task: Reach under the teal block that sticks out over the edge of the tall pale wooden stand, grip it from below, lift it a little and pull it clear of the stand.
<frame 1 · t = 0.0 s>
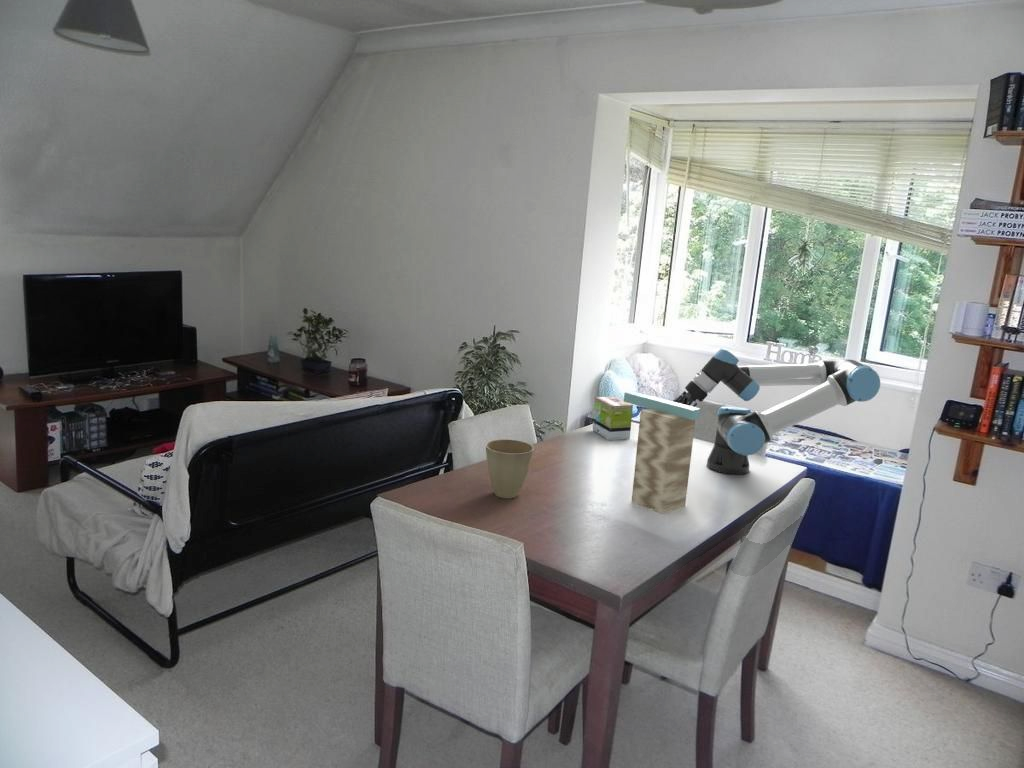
hand: (658, 432, 274), 15 cm above the table, tool tilted 35°, fingers open, 13 cm apart
plant pot: (506, 495, 247), on the table
wooden stand: (658, 503, 248), on the table
tea box: (610, 435, 325), on the table
teal block: (660, 409, 243), point 30 cm above the table, touching wooden stand
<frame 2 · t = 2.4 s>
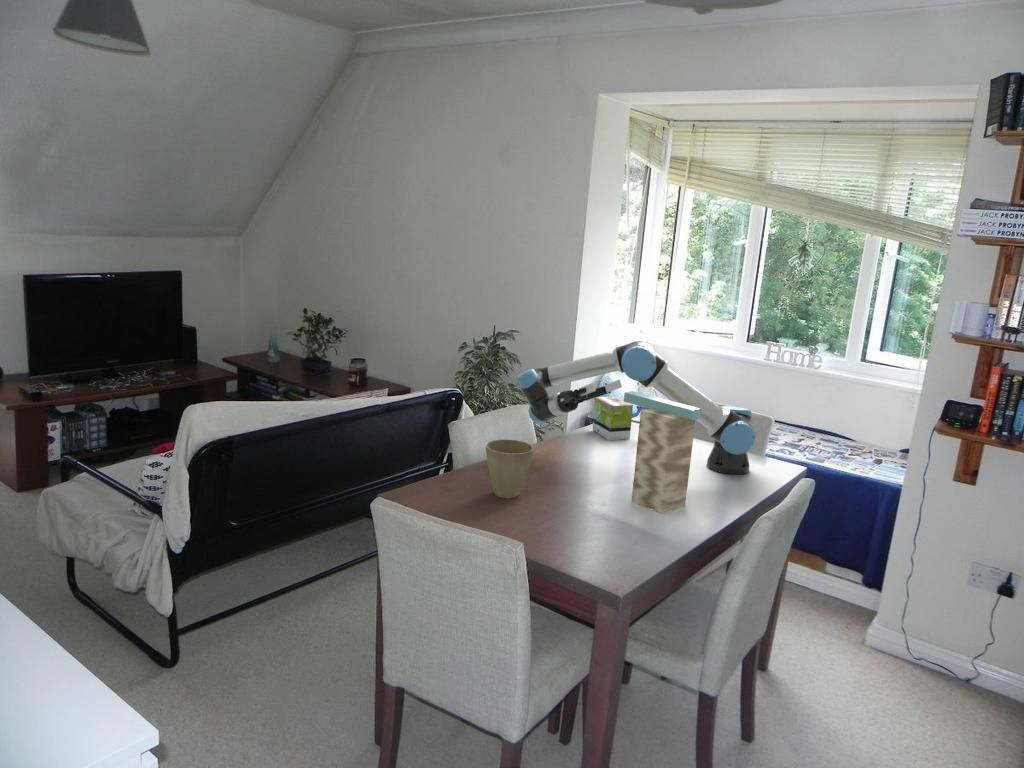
hand: (607, 385, 262), 33 cm above the table, tool pointing upward, fingers open, 13 cm apart
nothing on the table moved.
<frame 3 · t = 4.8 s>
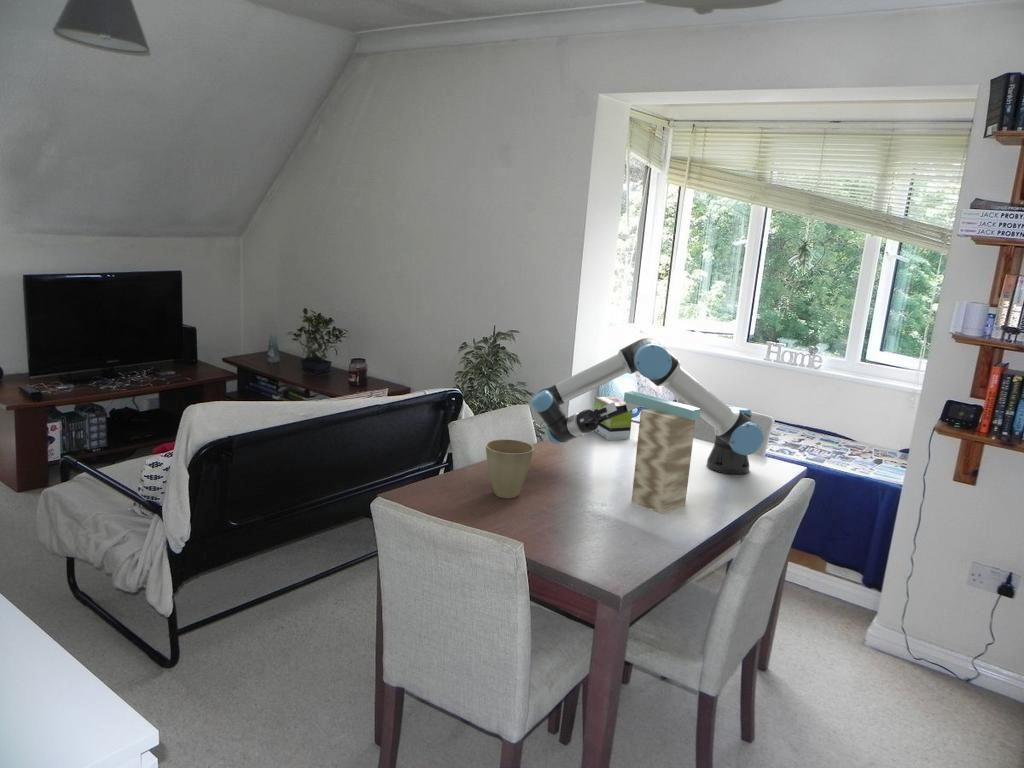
hand: (628, 403, 252), 29 cm above the table, tool pointing upward, fingers open, 13 cm apart
nothing on the table moved.
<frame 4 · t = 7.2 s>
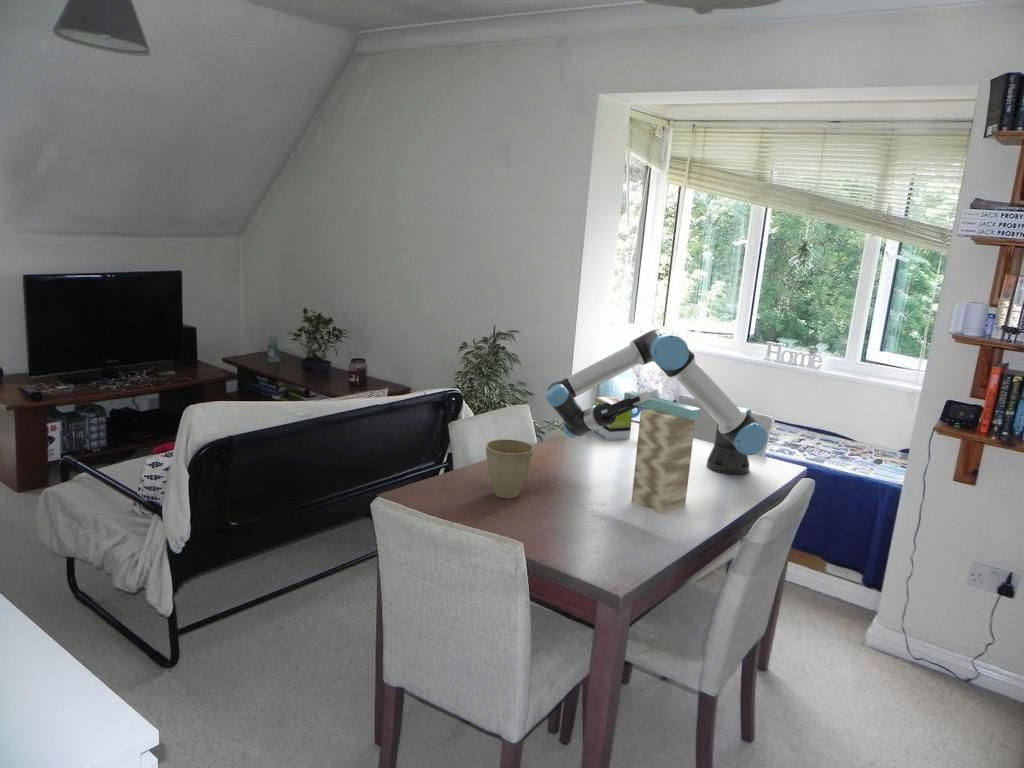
hand: (652, 394, 245), 34 cm above the table, tool pointing upward, fingers closed on teal block, 4 cm apart
teal block: (660, 409, 243), point 30 cm above the table, touching gripper, wooden stand
everything else where it was.
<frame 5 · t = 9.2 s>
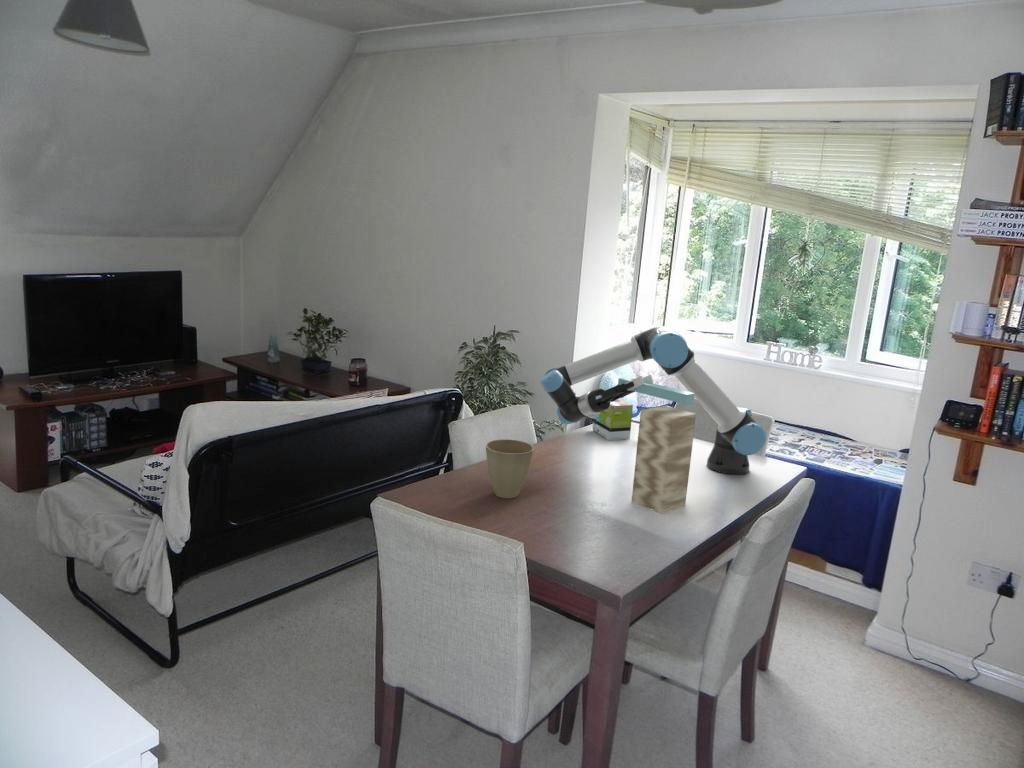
hand: (646, 379, 246), 38 cm above the table, tool pointing upward, fingers closed on teal block, 4 cm apart
teal block: (654, 394, 244), point 34 cm above the table, touching gripper
everything else where it was.
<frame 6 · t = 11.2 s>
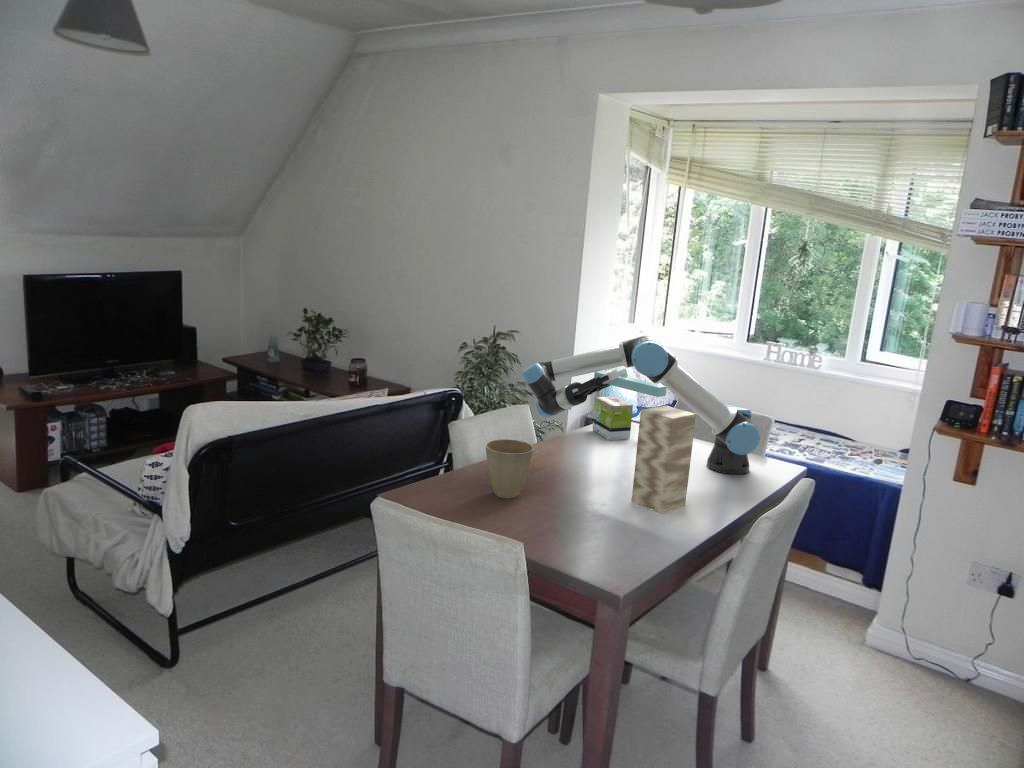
hand: (621, 373, 253), 38 cm above the table, tool pointing upward, fingers closed on teal block, 4 cm apart
teal block: (628, 388, 252), point 34 cm above the table, touching gripper
everything else where it was.
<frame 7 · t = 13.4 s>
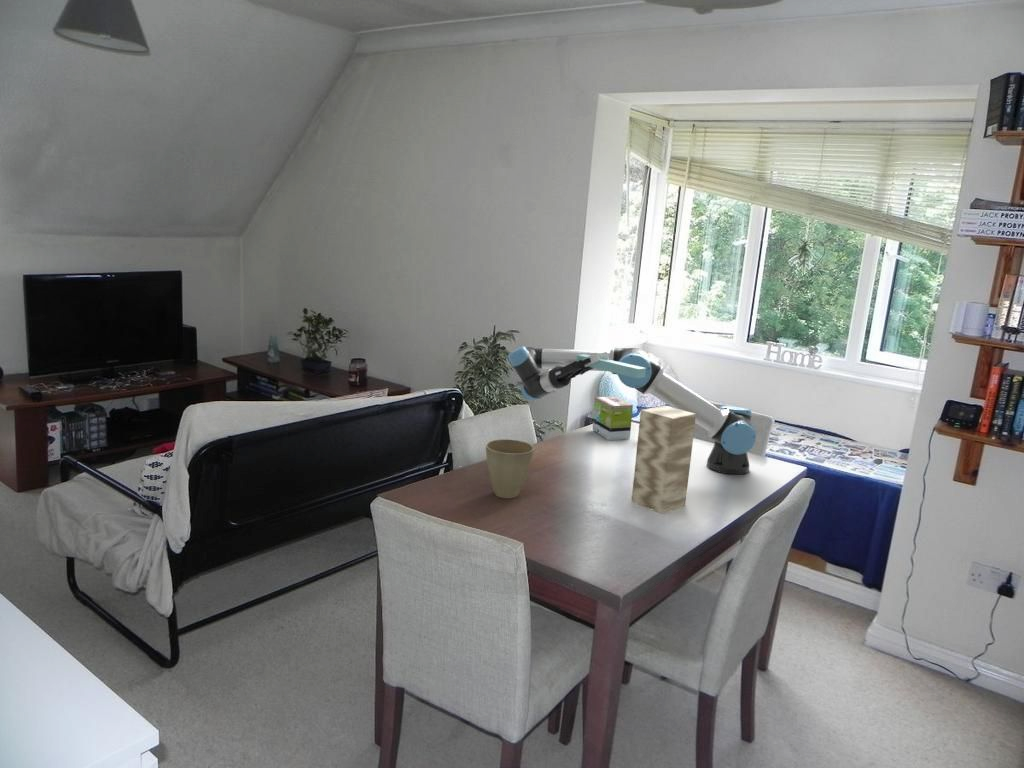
hand: (602, 355, 258), 43 cm above the table, tool pointing upward, fingers closed on teal block, 4 cm apart
teal block: (609, 370, 257), point 38 cm above the table, touching gripper
everything else where it was.
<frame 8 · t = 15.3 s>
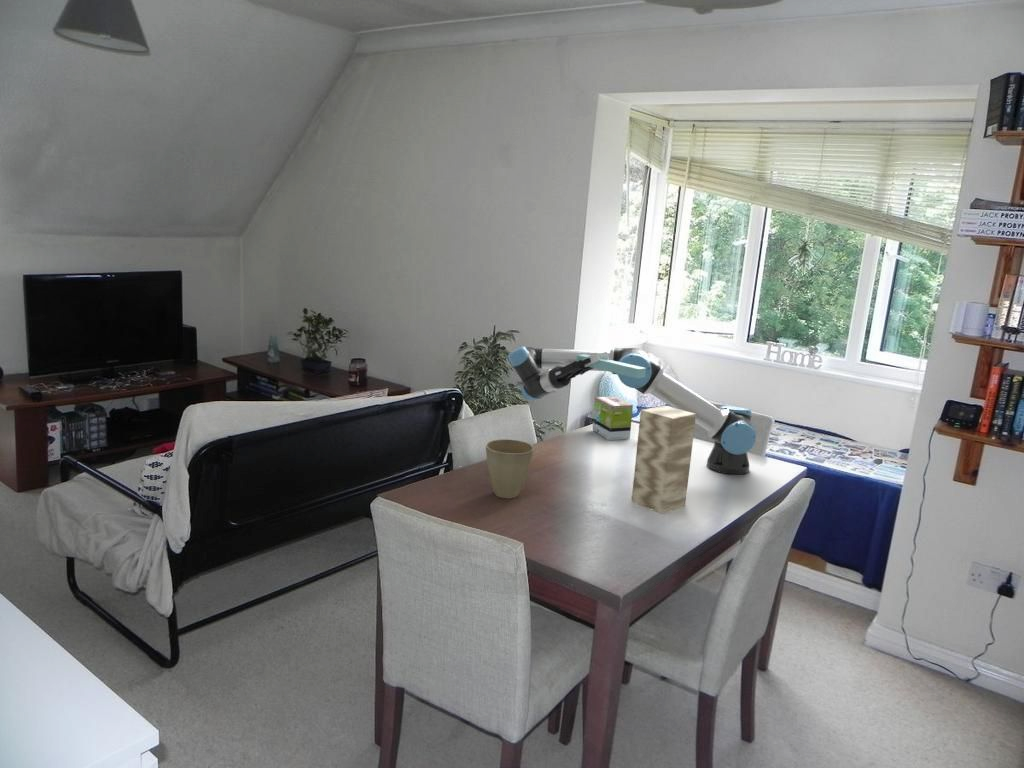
hand: (602, 355, 258), 43 cm above the table, tool pointing upward, fingers closed on teal block, 4 cm apart
teal block: (609, 370, 257), point 38 cm above the table, touching gripper
everything else where it was.
at the end: the gripper is holding teal block; teal block touching gripper; teal block moved 23.1 cm from its start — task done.
